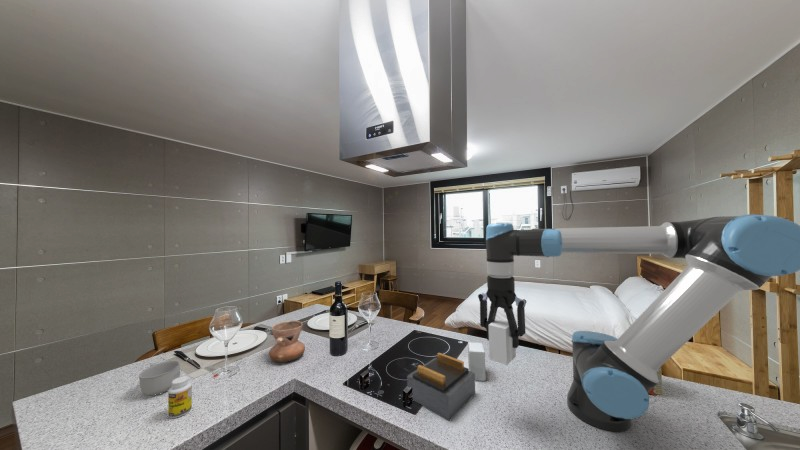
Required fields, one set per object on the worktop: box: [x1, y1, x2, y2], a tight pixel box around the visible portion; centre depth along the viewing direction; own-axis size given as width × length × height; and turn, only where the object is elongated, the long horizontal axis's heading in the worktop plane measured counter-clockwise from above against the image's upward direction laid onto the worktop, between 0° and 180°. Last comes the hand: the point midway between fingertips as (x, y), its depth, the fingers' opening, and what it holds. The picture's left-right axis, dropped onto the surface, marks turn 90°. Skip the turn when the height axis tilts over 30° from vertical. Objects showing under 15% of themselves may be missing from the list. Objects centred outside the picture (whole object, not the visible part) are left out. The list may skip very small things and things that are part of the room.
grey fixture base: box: [406, 352, 476, 422], centre depth 87 cm, size 16×16×10 cm
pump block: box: [488, 317, 517, 366], centre depth 77 cm, size 5×7×10 cm
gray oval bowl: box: [138, 359, 181, 396], centre depth 94 cm, size 14×11×8 cm
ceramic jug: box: [268, 320, 306, 363], centre depth 115 cm, size 18×14×14 cm
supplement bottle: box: [167, 375, 193, 419], centre depth 81 cm, size 6×6×10 cm
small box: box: [467, 341, 487, 382], centre depth 98 cm, size 8×6×10 cm
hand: (502, 354), depth 77 cm, fingers closed on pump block, 5 cm apart
